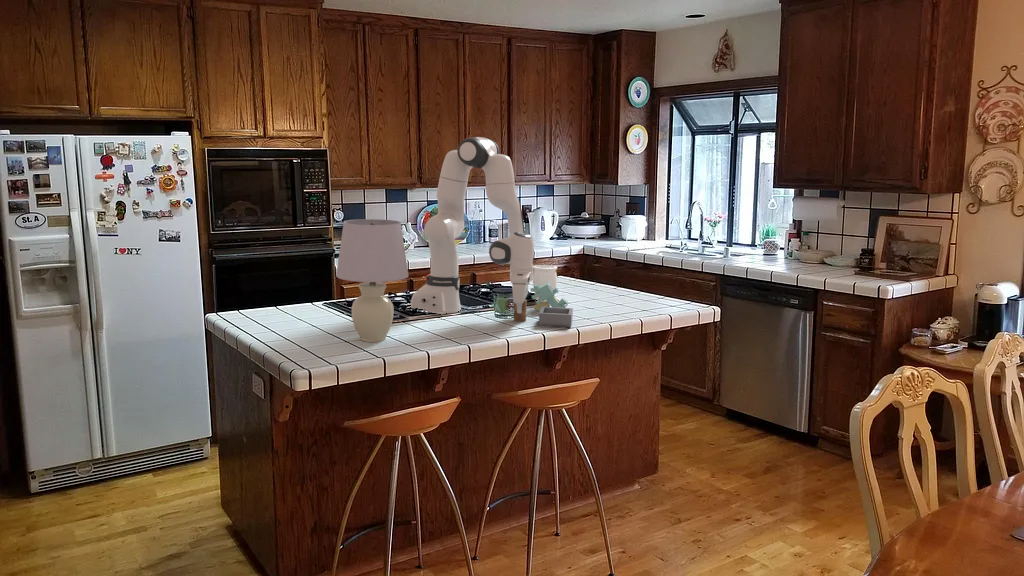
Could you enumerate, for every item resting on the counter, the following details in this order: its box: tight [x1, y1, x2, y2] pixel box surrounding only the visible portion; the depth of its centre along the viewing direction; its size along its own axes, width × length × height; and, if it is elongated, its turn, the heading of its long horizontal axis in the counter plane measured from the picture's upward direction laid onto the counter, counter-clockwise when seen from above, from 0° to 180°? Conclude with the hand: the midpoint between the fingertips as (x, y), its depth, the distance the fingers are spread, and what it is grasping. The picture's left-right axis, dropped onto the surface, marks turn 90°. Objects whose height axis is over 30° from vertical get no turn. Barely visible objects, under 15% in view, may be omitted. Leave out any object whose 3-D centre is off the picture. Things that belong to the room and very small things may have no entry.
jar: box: [532, 264, 558, 302], centre depth 338 cm, size 11×10×15 cm
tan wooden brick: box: [513, 299, 528, 322], centre depth 299 cm, size 4×2×8 cm, turn 83°
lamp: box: [335, 218, 409, 343], centre depth 263 cm, size 24×24×40 cm
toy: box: [530, 282, 570, 312], centre depth 319 cm, size 10×13×15 cm
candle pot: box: [538, 306, 574, 328], centre depth 296 cm, size 12×12×5 cm
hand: (520, 310), depth 300 cm, fingers open, 7 cm apart
